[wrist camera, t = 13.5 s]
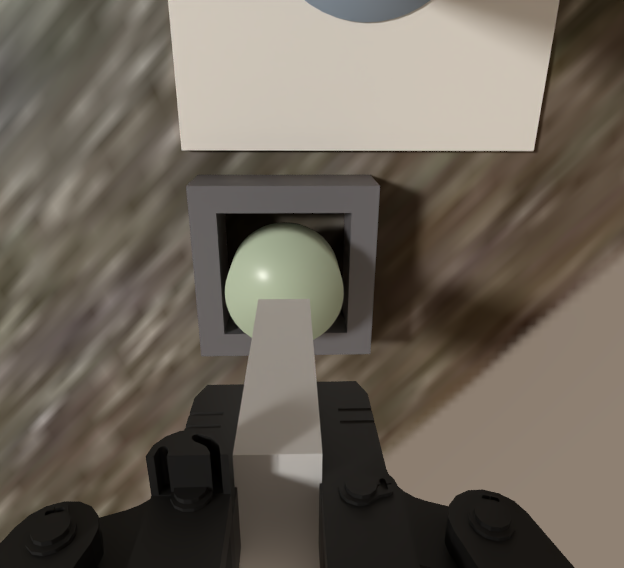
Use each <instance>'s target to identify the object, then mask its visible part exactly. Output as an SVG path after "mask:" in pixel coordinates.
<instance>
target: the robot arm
mask: <svg viewBox="0 0 624 568" xmlns="http://www.w3.org/2000/svg"><path fill="white" fill-rule="evenodd" d="M146 461H147V468H148V475H149V482H150V488H151V495H152V496H151V499H150V500H148V501H146V502H144V503H143V504H141V505H139V506H137V507H134V508H131V509H128V510H126V511H122V512H118V513H115V514H111V515H108V516H104V517H101V518H99V517H98V515H97V513H96V512H95V510H94V509H93V508H92V506H89V505H87V504H84V503H82V502H61V503H57V504H53V505H50V506H46V507H44V508H42V509H41V510H39V511H37V512H35V513H33V514H31V515H29V516H28V517H27V518H26V519H24V520H23V521H22V522H21V523H20V524H19V525H17V526H16V527H15V528H14V529H13V530H12V531H11V532H10V533H9V534H8V536H7V537H6V538H5V539H4V540H3V541H2V542H1V543H0V568H239V562H240V568H574V567H573V565H572V564H571V563H570V562H569V561H568V560H567V558H566V557H565V556H564V555H563V554H562V553H561V551H559V549H558V548H557V547H556V546H555V545H554V543H553V542H552V541H551V540H550V539H549V538H548V537H547V535H546V534H545V533H544V532H543V531H542V529H541V528H540V527H539V526H538V525H537V524H536V522H535V521H534V520H533V519H532V518H531V517H530V515H529V514H528V513H527V512H526V511H525V510H523V509H522V508H521V507H520V506H519V505H518V504H517V503H515V502H514V501H513V500H511V499H509V498H507V497H505V496H503V495H501V494H499V493H495V492H490V491H486V490H468V491H466V492H463V493H461V494H459V495H457V496H456V497H455V498H454V500H453V501H452V502H451V503H450V505H449V506H444V505H440V504H436V503H432V502H428V501H424V500H421V499H418V498H415V497H413V496H411V495H410V494H408V493H405V492H404V491H403V490H402V489H400V488H399V487H398V486H397V484H396V482H395V480H394V479H393V478H392V477H391V476H390V475H389V474H388V472H387V470H386V466H385V462H384V458H383V454H382V450H381V446H380V442H379V438H378V434H377V430H376V426H375V423H374V418H373V414H372V411H371V406H370V402H369V398H368V394H367V393H366V392H365V391H364V389H363V388H362V387H361V386H360V385H359V384H358V383H357V382H356V381H343V382H316V370H315V358H314V346H313V333H312V321H311V309H310V299H258V304H257V310H256V316H255V322H254V328H253V334H252V340H251V346H250V353H249V359H248V365H247V371H246V377H245V383H244V385H207V386H206V387H205V388H204V389H203V390H202V391H201V392H200V393H199V394H198V395H197V396H196V397H195V399H194V402H193V405H192V408H191V411H190V416H189V417H188V421H187V424H186V428H185V430H184V431H179V432H176V433H174V434H171V435H169V436H166V437H164V438H163V439H162V440H160V441H159V442H157V443H156V444H155V445H153V447H152V448H151V449H150V451H149V452H148V454H147V455H146Z"/></svg>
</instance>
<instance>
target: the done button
mask: <svg viewBox="0 0 624 568" xmlns="http://www.w3.org/2000/svg"><path fill="white" fill-rule="evenodd" d="M343 296H344V289H343V282H342V277H341V274H340V270H339V266H338V262H337V259H336V256H335V254H334V251H333V249H332V248H331V246H330V245H329V243H328V242H327V241H326V240H325V239H324V238H323V237H322V236H321V235H320V234H319V233H317V232H315V231H314V230H312V229H310V228H308V227H306V226H303V225H300V224H296V223H287V222H282V223H274V224H269V225H266V226H263V227H261V228H259V229H257V230H256V231H254V232H253V233H251V234H250V235H249V236H248V237H246V238H245V239H244V241H243V242H242V243H241V244H240V246H239V247H238V249H237V251H236V253H235V255H234V258H233V261H232V264H231V267H230V270H229V273H228V276H227V279H226V285H225V299H226V304H227V308H228V311H229V313H230V315H231V317H232V319H233V320H234V322H235V323H236V324H237V326H238V327H239V328H240V329H241V330H242V331H243V332H244V333H246V334H247V335H248V336H250V337H251V338H252V334H253V328H254V322H255V316H256V310H257V304H258V299H310V309H311V321H312V333H313V340H314V339H316V338H317V337H319V336H321V335H322V334H323V333H324V332H326V331H327V330H328V329H329V328H330V327H331V325H332V324H333V323H334V321H335V320H336V318H337V317H338V315H339V312H340V310H341V307H342V303H343Z"/></svg>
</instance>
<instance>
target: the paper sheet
mask: <svg viewBox="0 0 624 568" xmlns="http://www.w3.org/2000/svg"><path fill="white" fill-rule="evenodd" d="M168 4H169V16H170V27H171V38H172V49H173V60H174V71H175V82H176V93H177V104H178V115H179V126H180V137H181V148H182V150H284V151H534V146H535V140H536V134H537V129H538V123H539V117H540V111H541V105H542V99H543V94H544V88H545V82H546V76H547V70H548V65H549V59H550V53H551V47H552V41H553V35H554V30H555V24H556V18H557V12H558V6H559V0H168Z"/></svg>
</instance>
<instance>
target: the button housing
mask: <svg viewBox="0 0 624 568" xmlns="http://www.w3.org/2000/svg"><path fill="white" fill-rule="evenodd" d="M186 190H187V201H188V212H189V223H190V235H191V246H192V257H193V268H194V279H195V290H196V302H197V313H198V324H199V335H200V346H201V356H249V353H250V346H251V340H252V338H251V337H250V336H248V335H247V334H246V333H244V332H243V331H242V330H241V329H240V328H239V327H238V326H237V324H236V323H235V322H234V320H233V319H232V317H231V315H230V313H229V311H228V308H227V304H226V299H225V285H226V279H227V276H228V273H229V267H228V250H227V234H226V217H225V213H345V219H344V250H343V281H342V282H343V289H344V296H343V303H342V308H341V310H340V312H339V315H338V317H337V318H336V320H335V321H334V323H333V324H332V325H331V327H330V328H329V329H328V330H327V331H326V332H324V333H323V334H322V335H321V336H319V337H317V338H316V339H314V340H313V346H314V355H325V354H370V349H371V332H372V315H373V298H374V281H375V264H376V247H377V230H378V213H379V196H380V185H379V184H378V183H377V182H376V181H375V180H374V179H373V177H372V176H371V175H197V176H196V177H195V178H194V179H193V180H192V181H191V182H190V183H189V184H188V185H187V186H186Z"/></svg>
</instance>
